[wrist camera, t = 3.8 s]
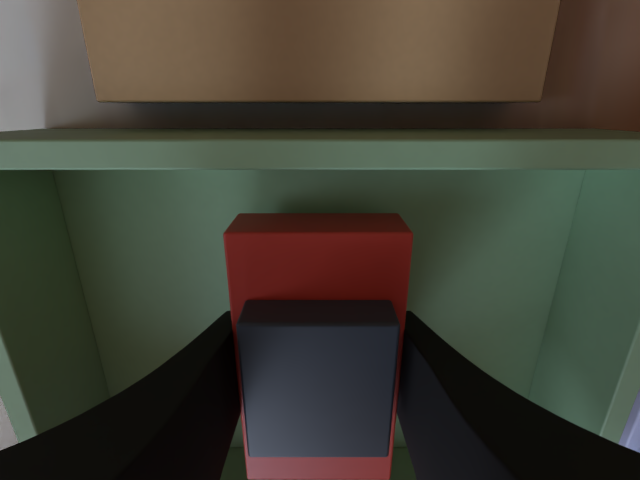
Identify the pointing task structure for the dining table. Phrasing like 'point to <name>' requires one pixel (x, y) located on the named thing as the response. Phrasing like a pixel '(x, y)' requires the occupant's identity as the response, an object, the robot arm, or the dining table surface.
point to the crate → (320, 197)
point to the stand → (318, 50)
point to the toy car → (318, 340)
